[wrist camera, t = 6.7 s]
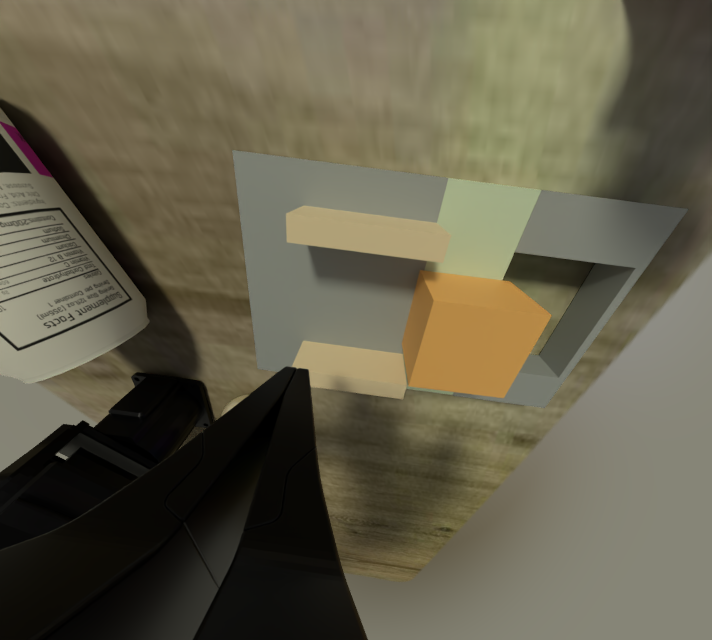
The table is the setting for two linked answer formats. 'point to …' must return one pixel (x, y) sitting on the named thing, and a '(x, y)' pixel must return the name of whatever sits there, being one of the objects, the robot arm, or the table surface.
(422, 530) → the table surface
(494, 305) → the block
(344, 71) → the table surface
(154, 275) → the table surface
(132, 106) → the table surface
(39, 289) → the supplement can
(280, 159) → the tunnel board
